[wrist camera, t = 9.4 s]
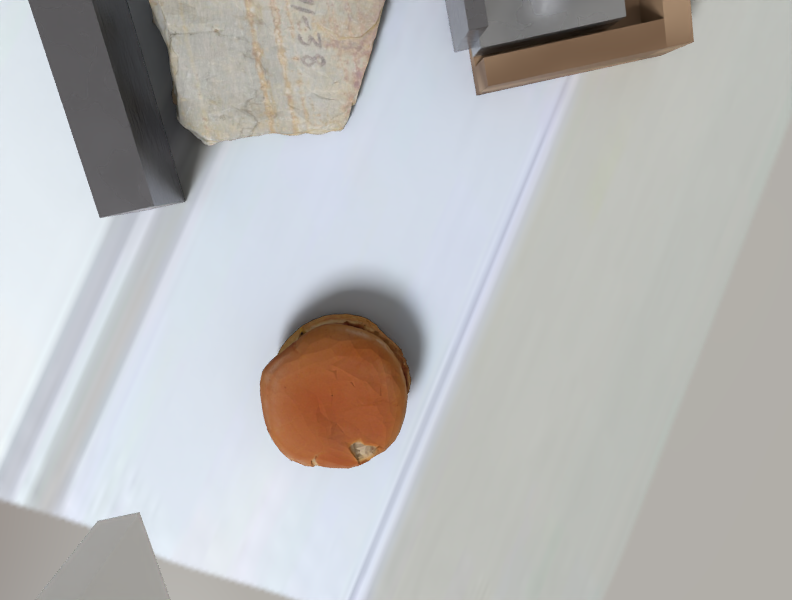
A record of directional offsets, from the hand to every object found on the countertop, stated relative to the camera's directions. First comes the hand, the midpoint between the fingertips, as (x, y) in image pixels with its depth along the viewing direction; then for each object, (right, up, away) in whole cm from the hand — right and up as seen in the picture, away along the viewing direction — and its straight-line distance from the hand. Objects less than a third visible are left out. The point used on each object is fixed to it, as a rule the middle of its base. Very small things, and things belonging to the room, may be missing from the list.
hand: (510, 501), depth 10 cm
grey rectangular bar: (-18, +17, +23) cm, 34 cm away
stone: (-10, +20, +23) cm, 32 cm away
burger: (-6, -2, +28) cm, 29 cm away
